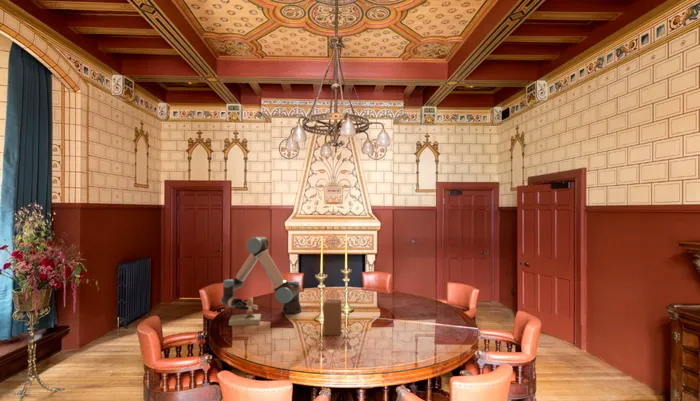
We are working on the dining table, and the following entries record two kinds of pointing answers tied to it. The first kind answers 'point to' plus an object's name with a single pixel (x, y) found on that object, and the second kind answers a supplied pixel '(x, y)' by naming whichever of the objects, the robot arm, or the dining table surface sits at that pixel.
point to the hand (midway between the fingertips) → (254, 308)
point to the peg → (250, 303)
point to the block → (332, 317)
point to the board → (244, 320)
